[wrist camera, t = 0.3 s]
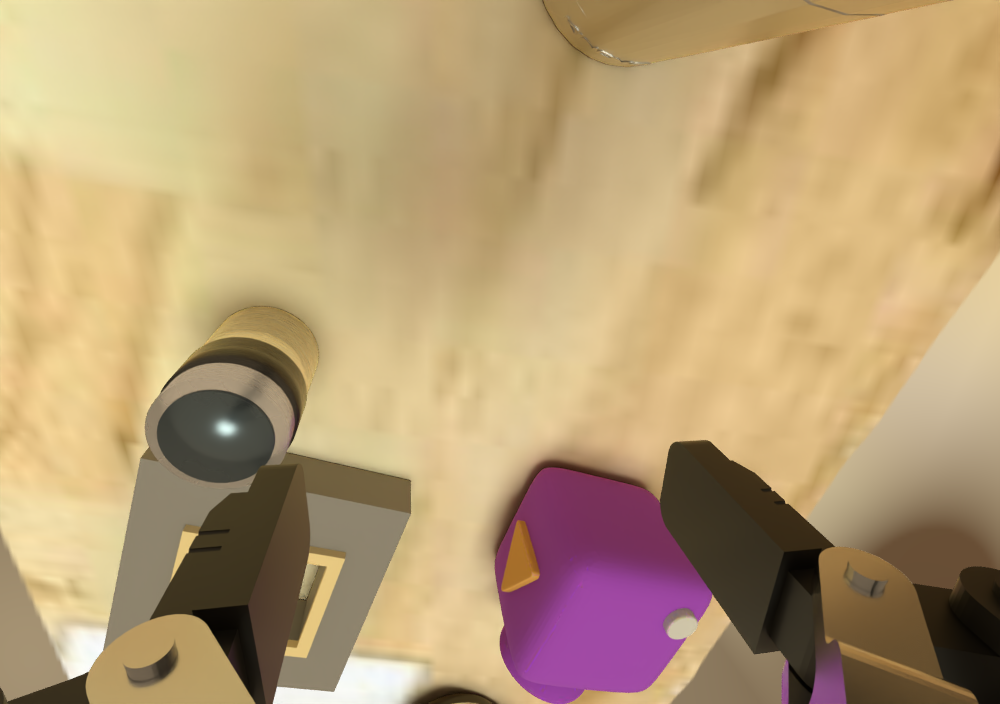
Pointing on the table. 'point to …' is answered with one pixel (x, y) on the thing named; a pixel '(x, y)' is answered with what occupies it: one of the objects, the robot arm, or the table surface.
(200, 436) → the lens
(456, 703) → the spread jar
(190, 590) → the robot arm
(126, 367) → the table surface
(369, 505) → the mount plate
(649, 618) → the toy camera
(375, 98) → the table surface
